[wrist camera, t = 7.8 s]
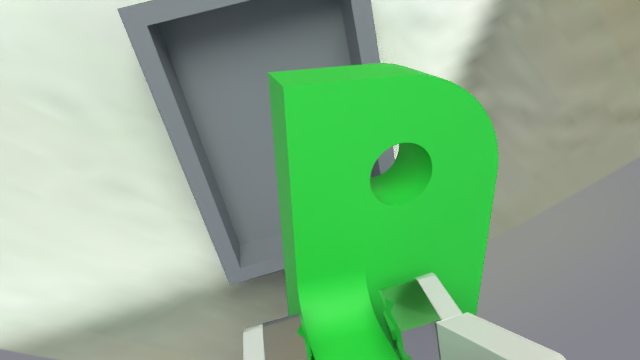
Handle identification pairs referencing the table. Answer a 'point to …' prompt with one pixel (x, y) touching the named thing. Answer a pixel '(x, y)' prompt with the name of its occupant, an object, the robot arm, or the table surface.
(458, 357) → the robot arm
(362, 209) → the mechanical part
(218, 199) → the tray
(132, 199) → the table surface
